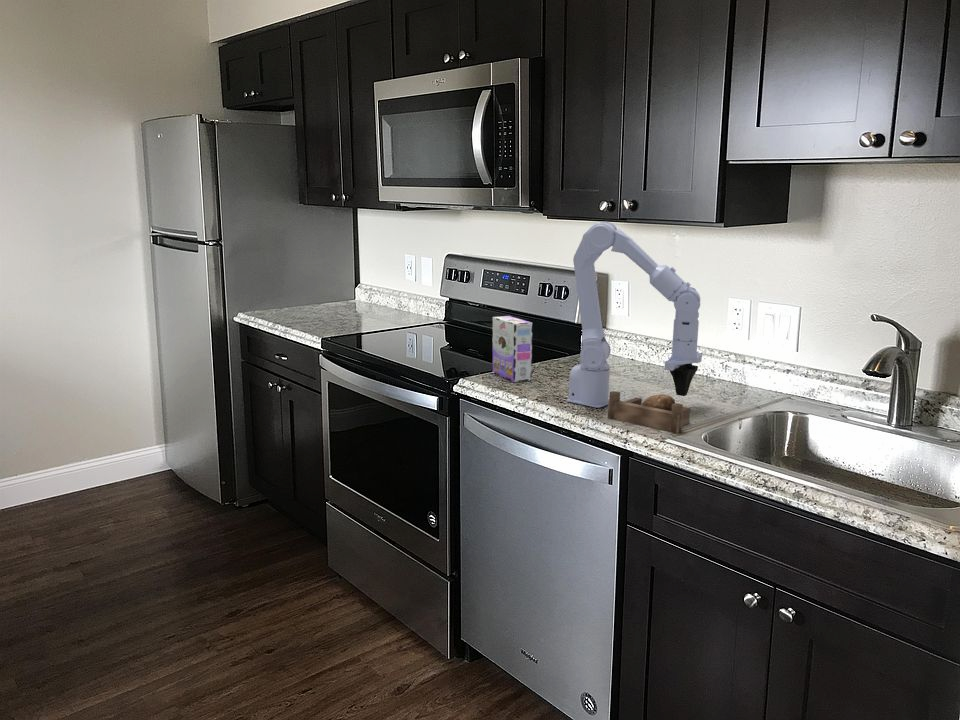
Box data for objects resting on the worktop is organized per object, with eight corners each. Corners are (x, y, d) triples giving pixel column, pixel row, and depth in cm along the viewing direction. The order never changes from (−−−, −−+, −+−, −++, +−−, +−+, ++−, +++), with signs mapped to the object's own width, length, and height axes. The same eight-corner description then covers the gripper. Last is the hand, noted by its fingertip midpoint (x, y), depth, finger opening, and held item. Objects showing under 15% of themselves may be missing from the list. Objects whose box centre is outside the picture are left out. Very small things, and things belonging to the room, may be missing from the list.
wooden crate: (606, 417, 193) (607, 392, 192) (627, 409, 200) (628, 385, 199) (678, 433, 181) (679, 406, 180) (698, 424, 188) (699, 399, 187)
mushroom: (673, 400, 197) (664, 382, 193) (685, 421, 190) (677, 403, 187) (642, 415, 198) (633, 397, 194) (653, 436, 191) (644, 418, 188)
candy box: (532, 381, 229) (533, 321, 225) (513, 383, 226) (514, 323, 223) (509, 371, 241) (510, 314, 238) (491, 372, 238) (491, 316, 235)
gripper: (685, 345, 189) (681, 403, 192) (714, 337, 200) (710, 392, 203) (658, 341, 194) (654, 398, 197) (688, 333, 204) (684, 387, 207)
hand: (681, 395), depth 200 cm, fingers closed
